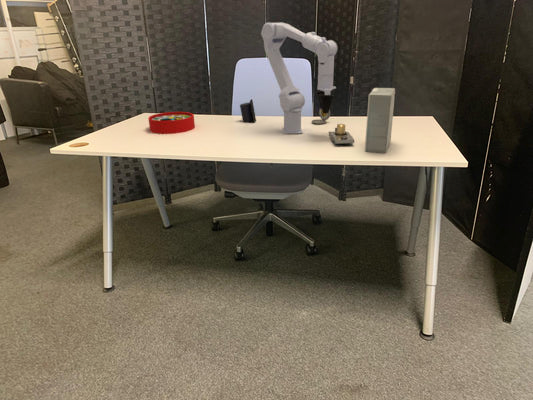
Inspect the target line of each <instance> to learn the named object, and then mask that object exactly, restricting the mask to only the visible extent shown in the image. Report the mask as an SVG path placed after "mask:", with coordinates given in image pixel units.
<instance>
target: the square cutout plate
mask: <svg viewBox="0 0 533 400" xmlns="http://www.w3.org/2000/svg"><path fill="white" fill-rule="evenodd" d="M327 133H328V137H329V138H330V140H331V142H332V144H333V143H334V144H339V145H340V146H341V147H345V146H346V147H347V146H348V144H355V138H354V137H353V136H352V135H351V133H350V132H349V131H346V130H345V135H344V136H337V127H334V131H328V132H327Z"/></svg>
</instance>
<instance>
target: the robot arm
mask: <svg viewBox="0 0 533 400" xmlns="http://www.w3.org/2000/svg"><path fill="white" fill-rule="evenodd" d="M260 35H261V37H262V40H263V46H264V52H265V54H266V57H267V60H268V61H269V64H270V66H271V69H272V71H273V73H274V77H275V79H276V82H277V84H278V86H279V89H280V92H279V95H278V98H279V104H280V105H279V106H280V108H281V109H282V112H283V127H282V133H283V135H284V134H285V135H286V134H288V135H290V134H291V135H292V134H293V135H294V134H295V135H296V134H303V129H302V110H303V107H304V106H305V102H306V99H305V95H303V94H302V93H301V91H300V89H299V88H298V87H296V86H295V85H294V82H293V81H292V78H291V76H290V73H289V71H288V68H287V66H286V63H285V61H284V59H283V56H282V54H281V51H280V48H281V46H282V45H283V43H284V42H285V40H286V38H287V37H288V38H290V39H292V40H296V41H297V42H300V43H301V45H302V47H303V48H305V49H307V50H309V51H310V52H313V53H314V54H315V55H316V56H317V62H318V66H317V67H318V69H317V70H318V71H317V73H318V74H317V88H316V90H317V91H316V92H315V93H316V95H317V98H318V102H319V109H322V111H323V113H329V110H330V111H331V104H332V102H333V99H334V98H335V94H331V92H332V90H336V89H337V87H336V86H334V70H335V56H336V54H337V52H338V44H337V42H336V41H334V40H332V39H329V40H327V37H324V36H322V37H321V36H319V35H317V33H316V32H315V31H311V32H307V33H305V32H302V31H301V30H300V29H297V28H295V27H294V26H292V25H291V24H289V23H285V22H282V21H281V22H265V23H264V24H263V26H262V29H261V33H260Z"/></svg>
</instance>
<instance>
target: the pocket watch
mask: <svg viewBox="0 0 533 400" xmlns="http://www.w3.org/2000/svg"><path fill="white" fill-rule="evenodd" d="M318 115H319V118H320V119H312V120H311V123H312V124H315V125H324V124H326V122H327V121H328V119H330V117H331V109H330V110H329V113H323V111H322V109H320V108H319V111H318Z"/></svg>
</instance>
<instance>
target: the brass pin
mask: <svg viewBox="0 0 533 400" xmlns="http://www.w3.org/2000/svg"><path fill="white" fill-rule="evenodd" d="M336 128H337V136H344V135H345V131H346V124H345V123H338V124H336Z"/></svg>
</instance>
